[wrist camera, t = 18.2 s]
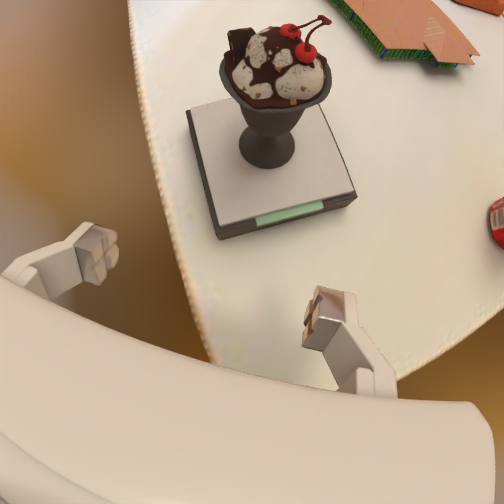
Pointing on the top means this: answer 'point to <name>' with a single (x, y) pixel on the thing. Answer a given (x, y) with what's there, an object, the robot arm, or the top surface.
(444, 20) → the house
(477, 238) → the top surface
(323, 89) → the sundae
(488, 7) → the bread
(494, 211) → the soda can
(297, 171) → the scale
